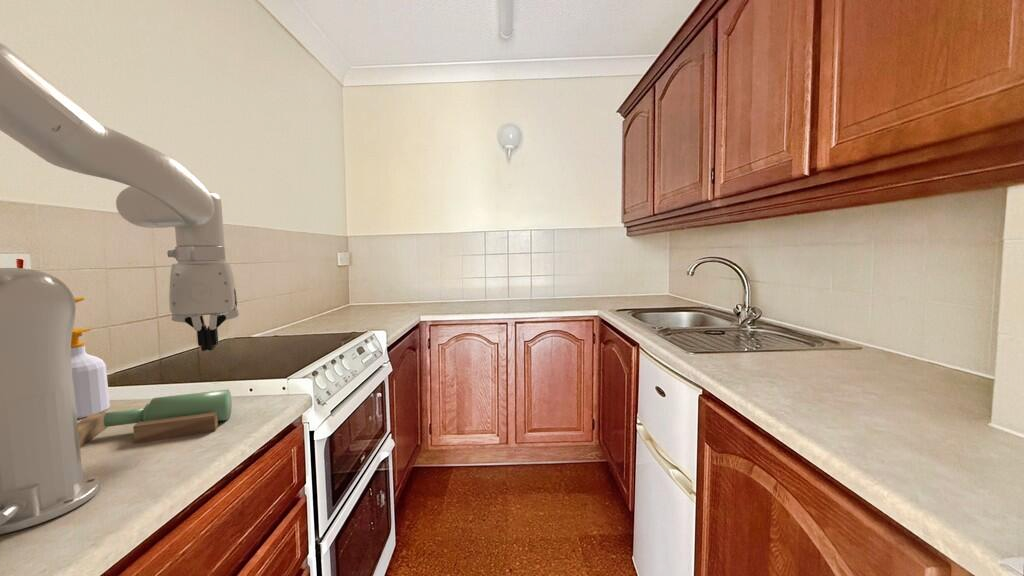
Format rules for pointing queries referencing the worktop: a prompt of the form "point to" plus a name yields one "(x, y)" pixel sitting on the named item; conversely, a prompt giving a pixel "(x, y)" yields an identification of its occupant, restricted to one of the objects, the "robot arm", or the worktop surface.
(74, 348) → the soap bottle
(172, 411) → the bottle
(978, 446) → the worktop surface
